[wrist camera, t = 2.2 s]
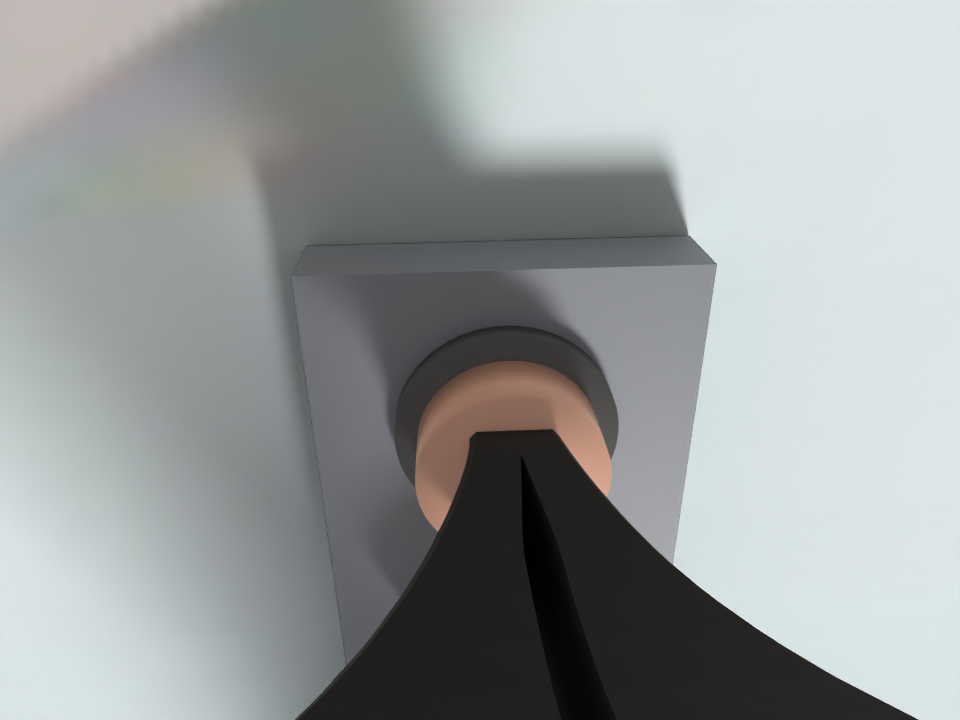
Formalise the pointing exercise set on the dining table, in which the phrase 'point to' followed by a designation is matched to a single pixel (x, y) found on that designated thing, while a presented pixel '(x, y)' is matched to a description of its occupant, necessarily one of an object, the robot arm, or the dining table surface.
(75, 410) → the dining table surface
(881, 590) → the dining table surface
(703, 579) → the dining table surface
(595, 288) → the button panel
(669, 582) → the robot arm
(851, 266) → the dining table surface
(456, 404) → the button three
